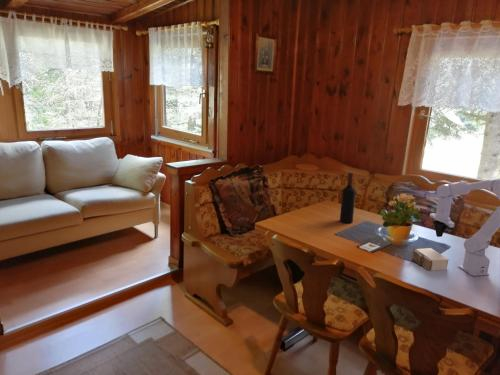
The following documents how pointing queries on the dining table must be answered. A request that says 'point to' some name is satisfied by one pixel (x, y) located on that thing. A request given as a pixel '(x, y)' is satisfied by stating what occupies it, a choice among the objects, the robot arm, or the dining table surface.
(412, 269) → the dining table surface
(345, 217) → the wine bottle
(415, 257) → the door
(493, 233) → the robot arm
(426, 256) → the cabinet
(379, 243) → the chocolate bar
